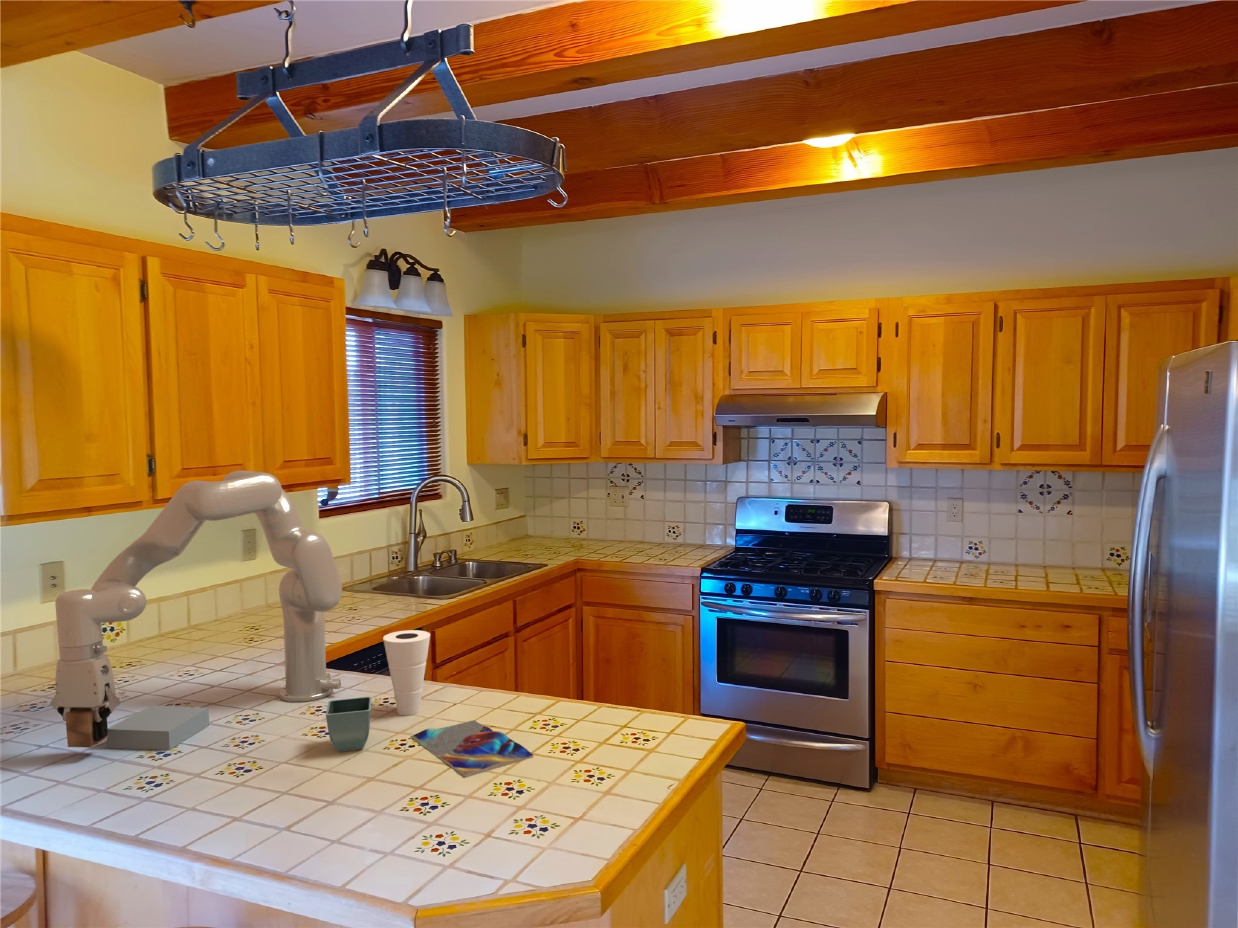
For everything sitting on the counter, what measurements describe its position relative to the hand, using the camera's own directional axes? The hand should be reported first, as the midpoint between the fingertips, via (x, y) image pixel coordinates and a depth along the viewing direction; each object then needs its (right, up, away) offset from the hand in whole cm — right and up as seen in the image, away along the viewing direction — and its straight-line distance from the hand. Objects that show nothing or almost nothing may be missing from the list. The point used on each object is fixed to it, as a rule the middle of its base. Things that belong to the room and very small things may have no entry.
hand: (87, 737), depth 171 cm
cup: (+59, -2, +25) cm, 64 cm away
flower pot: (+52, -4, +4) cm, 53 cm away
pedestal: (+9, -3, +11) cm, 14 cm away
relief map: (+78, -4, +4) cm, 78 cm away
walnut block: (0, -1, 0) cm, 1 cm away
